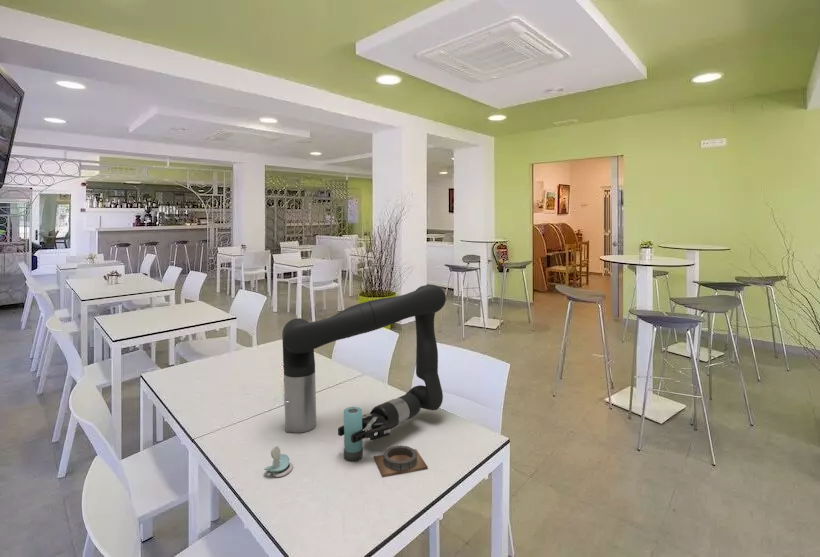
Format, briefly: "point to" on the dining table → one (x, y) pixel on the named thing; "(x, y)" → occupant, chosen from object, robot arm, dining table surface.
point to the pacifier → (279, 463)
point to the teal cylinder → (350, 427)
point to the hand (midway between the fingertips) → (345, 435)
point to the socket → (399, 461)
